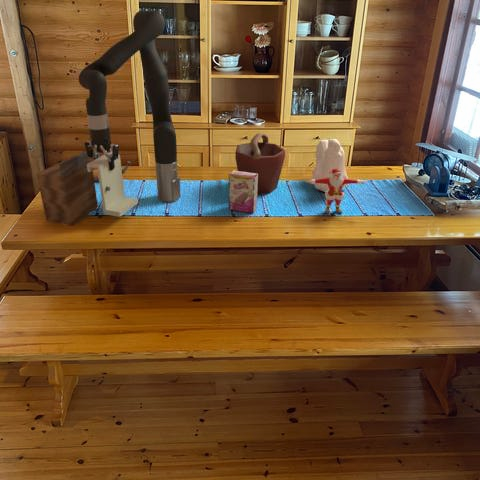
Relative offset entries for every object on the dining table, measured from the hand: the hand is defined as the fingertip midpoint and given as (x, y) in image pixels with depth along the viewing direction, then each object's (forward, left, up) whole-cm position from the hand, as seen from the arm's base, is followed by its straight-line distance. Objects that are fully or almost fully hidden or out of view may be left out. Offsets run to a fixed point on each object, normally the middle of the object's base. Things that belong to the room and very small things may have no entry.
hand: (104, 168), depth 186 cm
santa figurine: (-84, -37, -21) cm, 95 cm away
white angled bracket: (-3, 0, -16) cm, 16 cm away
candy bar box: (-48, -25, -21) cm, 58 cm away
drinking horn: (+26, -32, -21) cm, 46 cm away
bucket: (-46, -51, -21) cm, 72 cm away
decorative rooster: (-77, -64, -21) cm, 103 cm away
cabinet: (+16, +4, -20) cm, 26 cm away
